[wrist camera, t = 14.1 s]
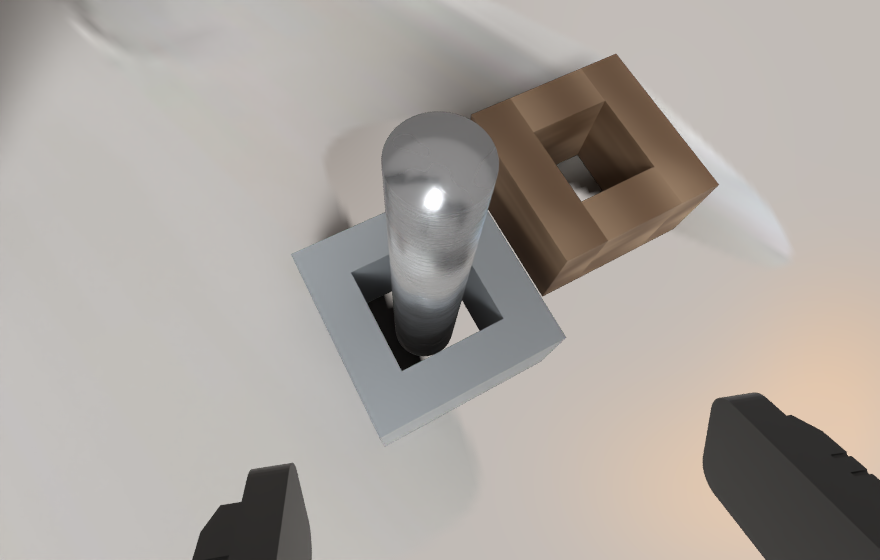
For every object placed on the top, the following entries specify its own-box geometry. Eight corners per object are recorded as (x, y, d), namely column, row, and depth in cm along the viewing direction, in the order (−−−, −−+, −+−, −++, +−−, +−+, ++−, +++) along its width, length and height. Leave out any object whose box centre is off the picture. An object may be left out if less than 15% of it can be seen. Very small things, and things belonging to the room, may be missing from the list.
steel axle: (411, 366, 28) (415, 232, 13) (385, 316, 29) (361, 137, 14) (462, 339, 29) (520, 183, 14) (435, 291, 30) (463, 96, 15)
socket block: (384, 446, 27) (379, 438, 22) (309, 291, 29) (291, 254, 25) (540, 361, 29) (566, 337, 24) (457, 222, 31) (465, 176, 27)
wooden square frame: (542, 296, 30) (567, 261, 25) (462, 167, 33) (471, 114, 28) (673, 228, 32) (718, 184, 27) (587, 112, 34) (616, 53, 30)
